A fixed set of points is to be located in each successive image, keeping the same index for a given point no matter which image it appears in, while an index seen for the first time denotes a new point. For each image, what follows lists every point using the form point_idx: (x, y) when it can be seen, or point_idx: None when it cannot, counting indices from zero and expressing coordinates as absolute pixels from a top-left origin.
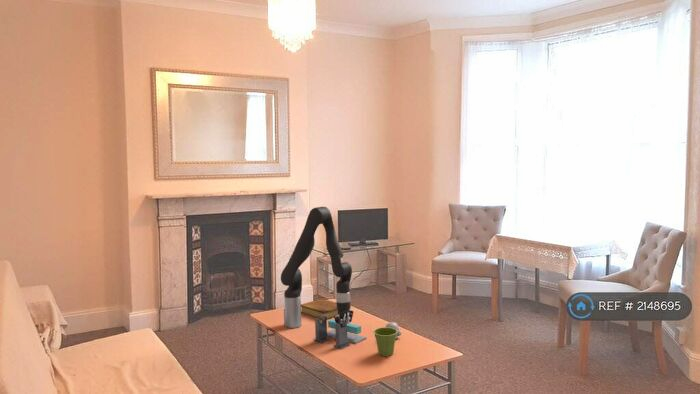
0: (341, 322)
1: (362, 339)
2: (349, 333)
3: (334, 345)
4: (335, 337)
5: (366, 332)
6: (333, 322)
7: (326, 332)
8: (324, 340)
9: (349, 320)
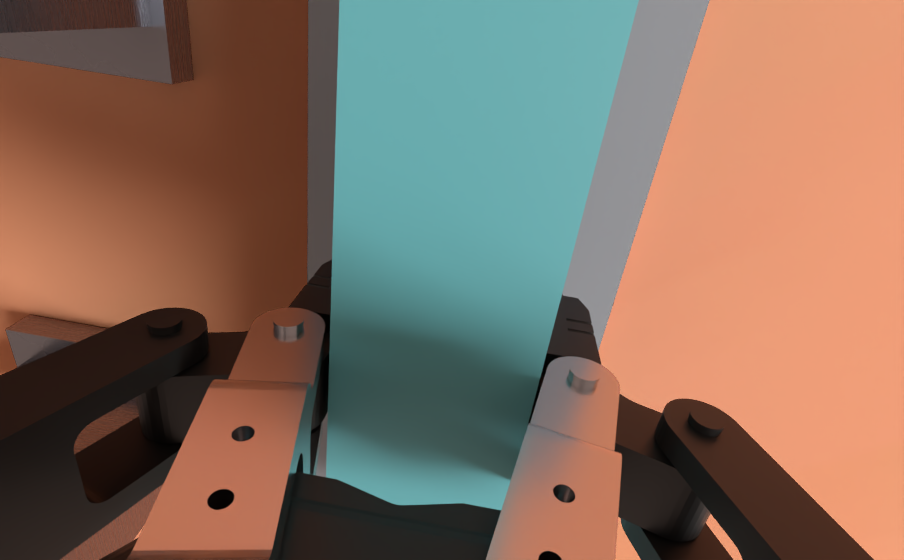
0: (465, 312)
1: None
2: (600, 287)
3: (14, 342)
4: (313, 145)
5: (814, 447)
6: (340, 17)
7: (42, 26)
8: (35, 61)
9: (632, 518)
